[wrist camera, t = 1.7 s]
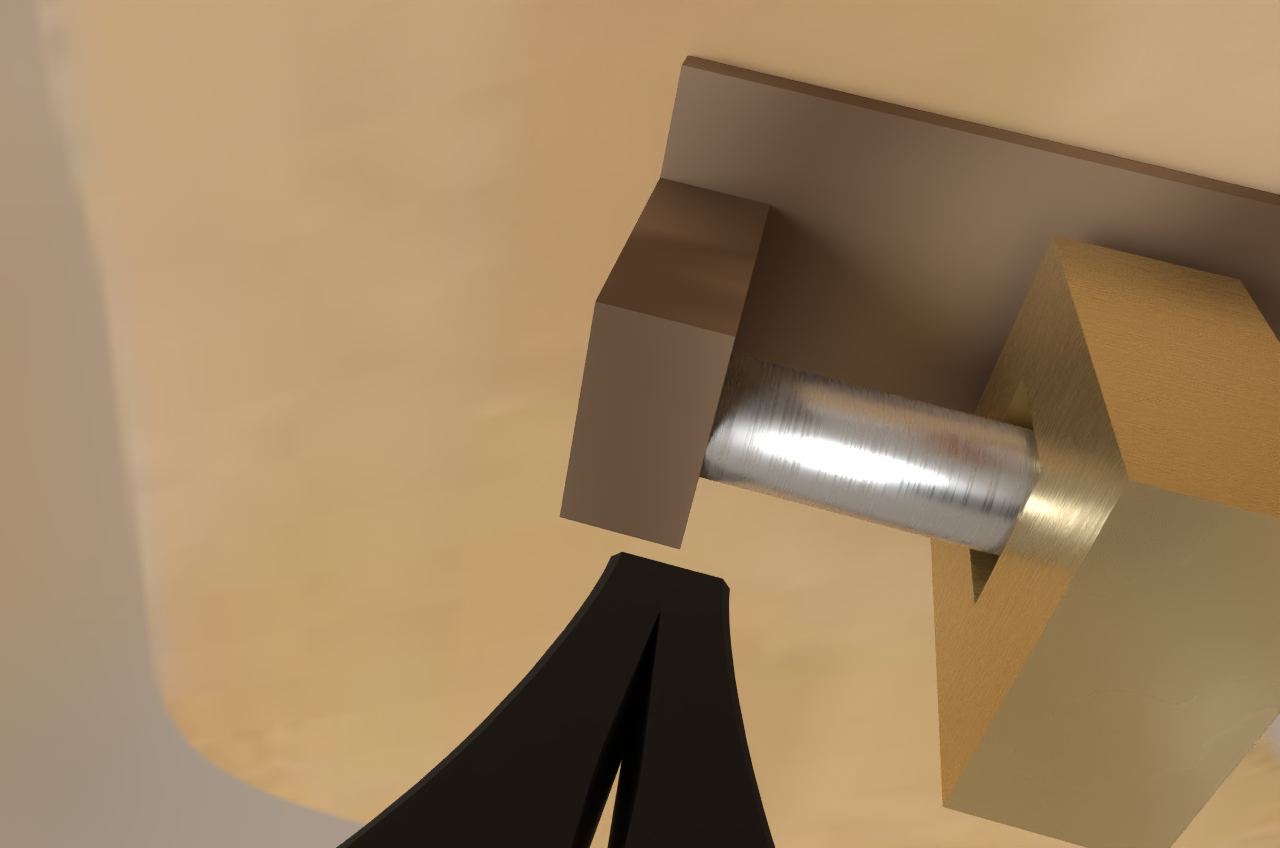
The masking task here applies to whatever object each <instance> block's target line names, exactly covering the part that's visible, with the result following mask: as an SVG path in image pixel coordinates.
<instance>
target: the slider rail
mask: <svg viewBox="0 0 1280 848" xmlns="http://www.w3.org/2000/svg"><path fill="white" fill-rule="evenodd" d="M1052 235H1056V236H1060V237H1065V238H1069V239H1073V240H1077V241H1081V242H1085V243H1089V244H1094V245H1098V246H1102V247H1106V248H1110V249H1114V250H1118V251H1122V252H1127V253H1131V254H1135V255H1139V256H1143V257H1147V258H1151V259H1156V260H1160V261H1164V262H1168V263H1172V264H1176V265H1180V266H1184V267H1189V268H1193V269H1197V270H1201V271H1205V272H1209V273H1213V274H1218V275H1222V276H1226V277H1230V278H1234V279H1238V280H1241V282H1242V283H1243V285H1244V287H1245V288H1246V290H1247V291H1248V293H1249V295H1250V296H1251V298H1252V299H1253V301H1254V303H1255V304H1256V306H1257V307H1258V309H1259V311H1260V312H1261V314H1262V315H1263V317H1264V319H1265V320H1266V322H1267V323H1268V325H1269V327H1270V328H1271V330H1272V331H1273V333H1274V334H1275V336H1276V338H1277V339H1278V341H1279V342H1280V195H1276V194H1272V193H1268V192H1264V191H1259V190H1255V189H1251V188H1247V187H1243V186H1238V185H1234V184H1230V183H1226V182H1221V181H1217V180H1213V179H1209V178H1204V177H1200V176H1196V175H1192V174H1187V173H1183V172H1179V171H1175V170H1170V169H1166V168H1162V167H1158V166H1153V165H1149V164H1145V163H1141V162H1136V161H1132V160H1128V159H1124V158H1120V157H1115V156H1111V155H1107V154H1103V153H1098V152H1094V151H1090V150H1086V149H1081V148H1077V147H1073V146H1069V145H1064V144H1060V143H1056V142H1052V141H1047V140H1043V139H1039V138H1035V137H1030V136H1026V135H1022V134H1018V133H1013V132H1009V131H1005V130H1001V129H997V128H992V127H988V126H984V125H980V124H975V123H971V122H967V121H963V120H958V119H954V118H950V117H946V116H941V115H937V114H933V113H929V112H924V111H920V110H916V109H912V108H907V107H903V106H899V105H895V104H891V103H886V102H882V101H878V100H874V99H869V98H865V97H861V96H857V95H852V94H848V93H844V92H840V91H835V90H831V89H827V88H823V87H818V86H814V85H810V84H806V83H801V82H797V81H793V80H789V79H784V78H780V77H776V76H772V75H768V74H763V73H759V72H755V71H751V70H746V69H742V68H738V67H734V66H729V65H725V64H721V63H717V62H712V61H708V60H704V59H700V58H695V57H691V56H687V58H686V59H685V61H684V62H683V64H682V67H681V72H680V78H679V83H678V88H677V93H676V98H675V104H674V109H673V114H672V119H671V124H670V130H669V135H668V140H667V145H666V150H665V156H664V161H663V166H662V171H661V176H660V179H659V181H658V183H657V185H656V187H655V189H654V191H653V193H652V194H651V196H650V198H649V200H648V202H647V204H646V206H645V208H644V210H643V212H642V214H641V215H640V217H639V219H638V221H637V223H636V225H635V227H634V229H633V231H632V233H631V235H630V237H629V238H628V240H627V242H626V244H625V246H624V248H623V250H622V252H621V254H620V256H619V258H618V260H617V261H616V263H615V265H614V267H613V269H612V271H611V273H610V275H609V277H608V279H607V281H606V283H605V284H604V286H603V288H602V290H601V292H600V294H599V296H598V298H597V300H596V302H595V308H594V314H593V320H592V326H591V332H590V338H589V344H588V350H587V356H586V362H585V368H584V374H583V380H582V386H581V392H580V398H579V404H578V410H577V416H576V422H575V428H574V435H573V441H572V447H571V453H570V459H569V465H568V471H567V477H566V483H565V489H564V495H563V501H562V507H561V513H560V517H562V518H565V519H569V520H573V521H576V522H580V523H584V524H588V525H591V526H595V527H599V528H603V529H606V530H610V531H614V532H617V533H621V534H625V535H629V536H632V537H636V538H640V539H643V540H647V541H651V542H655V543H658V544H662V545H666V546H669V547H673V548H677V549H680V547H681V544H682V540H683V536H684V532H685V528H686V524H687V521H688V517H689V513H690V509H691V505H692V501H693V498H694V494H695V490H696V486H697V482H698V479H699V475H700V471H701V467H702V463H703V459H704V455H705V452H706V448H707V444H708V440H709V436H710V432H711V429H712V425H713V421H714V417H715V413H716V409H717V406H718V402H719V398H720V394H721V390H722V387H723V383H724V379H725V375H726V371H727V367H728V364H729V360H730V356H731V353H734V354H738V355H742V356H746V357H749V358H753V359H757V360H761V361H765V362H769V363H773V364H777V365H781V366H785V367H789V368H793V369H797V370H800V371H804V372H808V373H812V374H816V375H820V376H824V377H828V378H832V379H836V380H840V381H844V382H848V383H851V384H855V385H859V386H863V387H867V388H871V389H875V390H879V391H883V392H887V393H891V394H895V395H898V396H902V397H906V398H910V399H914V400H918V401H922V402H926V403H930V404H934V405H938V406H942V407H946V408H949V409H953V410H957V411H961V412H965V413H969V414H973V415H974V413H975V411H976V408H977V406H978V404H979V401H980V399H981V397H982V395H983V392H984V390H985V388H986V386H987V383H988V381H989V379H990V376H991V374H992V372H993V370H994V367H995V365H996V363H997V360H998V358H999V356H1000V354H1001V351H1002V349H1003V347H1004V344H1005V342H1006V340H1007V338H1008V335H1009V333H1010V331H1011V328H1012V326H1013V324H1014V322H1015V319H1016V317H1017V315H1018V313H1019V310H1020V308H1021V306H1022V303H1023V301H1024V299H1025V297H1026V294H1027V292H1028V290H1029V287H1030V285H1031V283H1032V281H1033V278H1034V276H1035V274H1036V271H1037V269H1038V267H1039V265H1040V262H1041V260H1042V258H1043V256H1044V253H1045V251H1046V249H1047V246H1048V244H1049V242H1050V240H1051V237H1052Z"/></svg>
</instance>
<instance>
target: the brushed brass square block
mask: <svg viewBox="0 0 1280 848" xmlns="http://www.w3.org/2000/svg"><path fill="white" fill-rule="evenodd" d="M974 415H977V416H981V417H985V418H989V419H993V420H997V421H1000V422H1004V423H1008V424H1012V425H1016V426H1020V427H1024V428H1028V429H1032V430H1034V434H1035V439H1036V444H1037V449H1038V454H1039V459H1040V464H1041V469H1042V474H1041V476H1040V478H1039V480H1038V482H1037V484H1036V486H1035V488H1034V490H1033V492H1032V493H1031V495H1030V497H1029V499H1028V501H1027V503H1026V505H1025V507H1024V509H1023V511H1022V513H1021V515H1020V517H1019V519H1018V521H1017V523H1016V525H1015V527H1014V529H1013V531H1012V533H1011V535H1010V537H1009V539H1008V541H1007V543H1006V545H1005V547H1004V549H1003V551H1002V553H1001V555H1000V556H997V555H994V554H990V553H986V552H982V551H978V550H975V549H971V548H967V547H963V546H959V545H956V544H952V543H948V542H944V541H941V540H937V539H933V538H931V554H932V577H933V599H934V622H935V644H936V667H937V689H938V712H939V734H940V757H941V779H942V802H943V807H945V808H949V809H952V810H956V811H959V812H963V813H967V814H970V815H974V816H977V817H981V818H984V819H988V820H991V821H995V822H998V823H1002V824H1006V825H1009V826H1013V827H1016V828H1020V829H1023V830H1027V831H1030V832H1034V833H1038V834H1041V835H1045V836H1048V837H1052V838H1055V839H1059V840H1062V841H1066V842H1070V843H1073V844H1077V845H1080V846H1084V847H1087V848H1170V847H1171V846H1172V845H1173V844H1174V842H1175V841H1176V840H1177V839H1178V837H1179V836H1180V835H1181V834H1182V833H1183V831H1184V830H1185V829H1186V828H1187V826H1188V825H1189V824H1190V823H1191V822H1192V820H1193V819H1194V818H1195V817H1196V815H1197V814H1198V813H1199V812H1200V811H1201V809H1202V808H1203V807H1204V806H1205V804H1206V803H1207V802H1208V801H1209V799H1210V798H1211V797H1212V796H1213V795H1214V793H1215V792H1216V791H1217V790H1218V788H1219V787H1220V786H1221V785H1222V784H1223V782H1224V781H1225V780H1226V779H1227V777H1228V776H1229V775H1230V774H1231V772H1232V771H1233V770H1234V769H1235V768H1236V766H1237V765H1238V764H1239V763H1240V761H1241V760H1242V759H1243V758H1244V757H1245V755H1246V754H1247V753H1248V752H1249V750H1250V749H1251V748H1252V747H1253V745H1254V744H1255V743H1256V742H1257V741H1258V739H1259V738H1260V737H1261V736H1262V734H1263V733H1264V732H1265V731H1266V730H1267V728H1268V727H1269V726H1270V725H1271V723H1272V722H1273V721H1274V720H1275V719H1276V717H1277V716H1278V715H1279V714H1280V342H1279V341H1278V339H1277V338H1276V336H1275V334H1274V333H1273V331H1272V330H1271V328H1270V327H1269V325H1268V323H1267V322H1266V320H1265V319H1264V317H1263V315H1262V314H1261V312H1260V311H1259V309H1258V307H1257V306H1256V304H1255V303H1254V301H1253V299H1252V298H1251V296H1250V295H1249V293H1248V291H1247V290H1246V288H1245V287H1244V285H1243V283H1242V282H1241V280H1238V279H1234V278H1230V277H1226V276H1222V275H1218V274H1213V273H1209V272H1205V271H1201V270H1197V269H1193V268H1189V267H1184V266H1180V265H1176V264H1172V263H1168V262H1164V261H1160V260H1156V259H1151V258H1147V257H1143V256H1139V255H1135V254H1131V253H1127V252H1122V251H1118V250H1114V249H1110V248H1106V247H1102V246H1098V245H1094V244H1089V243H1085V242H1081V241H1077V240H1073V239H1069V238H1065V237H1060V236H1056V235H1052V237H1051V240H1050V242H1049V244H1048V246H1047V249H1046V251H1045V253H1044V256H1043V258H1042V260H1041V262H1040V265H1039V267H1038V269H1037V271H1036V274H1035V276H1034V278H1033V281H1032V283H1031V285H1030V287H1029V290H1028V292H1027V294H1026V297H1025V299H1024V301H1023V303H1022V306H1021V308H1020V310H1019V313H1018V315H1017V317H1016V319H1015V322H1014V324H1013V326H1012V328H1011V331H1010V333H1009V335H1008V338H1007V340H1006V342H1005V344H1004V347H1003V349H1002V351H1001V354H1000V356H999V358H998V360H997V363H996V365H995V367H994V370H993V372H992V374H991V376H990V379H989V381H988V383H987V386H986V388H985V390H984V392H983V395H982V397H981V399H980V401H979V404H978V406H977V408H976V411H975V413H974Z"/></svg>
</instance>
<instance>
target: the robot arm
mask: <svg viewBox="0 0 1280 848" xmlns="http://www.w3.org/2000/svg"><path fill="white" fill-rule="evenodd" d="M729 592H730V588H729V587H728V585H727V584H726V583H725V581H724V580H723V579H721V578H718V577H714V576H710V575H707V574H703V573H699V572H695V571H692V570H688V569H684V568H680V567H677V566H673V565H669V564H666V563H662V562H658V561H654V560H651V559H647V558H643V557H640V556H636V555H632V554H628V553H625V552H621V553H619V554H616V555H614V556H611V558H610V560H609V562H608V564H607V566H606V568H605V570H604V572H603V574H602V576H601V577H600V579H599V581H598V582H597V584H596V585H595V587H594V589H593V590H592V592H591V593H590V595H589V596H588V598H587V599H586V601H585V602H584V603H583V605H582V606H581V608H580V609H579V610H578V612H577V613H576V614H575V616H574V617H573V619H572V620H571V621H570V623H569V624H568V625H567V627H566V628H565V629H564V631H563V632H562V633H561V634H560V635H559V637H558V638H557V639H556V640H555V642H554V643H553V644H552V645H551V646H550V648H549V649H548V650H547V651H546V652H545V654H544V655H543V656H542V657H541V659H540V660H539V661H538V662H537V663H536V665H535V666H534V667H533V668H532V669H531V671H530V672H529V673H528V674H527V675H526V676H525V677H524V679H523V680H522V681H521V682H520V683H519V684H518V685H517V686H516V687H515V688H514V689H513V690H512V691H511V692H510V693H509V695H508V696H507V697H506V698H505V699H504V700H503V701H502V702H501V703H500V704H499V705H498V706H497V707H496V708H495V709H494V710H493V712H492V713H491V714H490V715H489V716H488V717H487V718H486V719H485V720H484V721H483V722H482V723H481V724H480V725H479V726H478V727H477V728H476V729H475V730H474V731H473V732H472V733H471V734H470V735H469V736H468V737H467V738H466V739H465V740H464V741H463V742H462V743H461V744H460V745H459V746H457V747H456V748H455V749H454V750H453V751H452V752H451V753H450V754H449V755H448V756H447V757H446V758H445V759H443V760H442V761H441V762H440V763H439V764H438V765H437V766H436V767H435V768H433V769H432V770H431V771H430V772H429V773H428V774H427V775H426V776H425V777H423V778H422V779H421V780H420V781H419V782H418V783H417V784H415V785H414V786H413V787H412V788H411V789H409V790H408V791H407V792H406V793H405V794H403V795H402V796H401V797H400V798H399V799H397V800H396V801H395V802H394V803H392V804H391V805H390V806H389V807H388V808H386V809H385V810H384V811H383V812H382V813H380V814H379V815H378V816H377V817H376V818H374V819H373V820H372V821H371V822H369V823H368V824H367V825H365V826H364V827H363V828H362V829H360V830H359V831H358V832H357V833H355V834H354V835H353V836H351V837H350V838H349V839H347V840H346V841H345V842H344V843H342V844H341V845H339V846H338V847H337V848H590V845H591V842H592V840H593V837H594V834H595V832H596V829H597V826H598V823H599V821H600V818H601V815H602V812H603V810H604V807H605V804H606V802H607V799H608V796H609V793H610V791H611V788H612V785H613V782H614V780H615V777H616V774H617V771H618V769H619V766H620V763H621V768H620V774H619V780H618V786H617V793H616V799H615V805H614V811H613V817H612V823H611V830H610V836H609V842H608V848H775V846H774V842H773V839H772V836H771V833H770V829H769V826H768V822H767V819H766V816H765V812H764V809H763V805H762V801H761V797H760V793H759V790H758V786H757V782H756V778H755V774H754V770H753V766H752V762H751V757H750V753H749V749H748V745H747V740H746V734H745V729H744V724H743V719H742V714H741V709H740V704H739V699H738V693H737V686H736V680H735V674H734V665H733V657H732V649H731V638H730V624H729ZM621 760H622V762H621Z"/></svg>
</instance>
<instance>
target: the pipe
mask: <svg viewBox="0 0 1280 848" xmlns="http://www.w3.org/2000/svg"><path fill="white" fill-rule="evenodd" d="M1041 474H1042V469H1041V464H1040V459H1039V454H1038V449H1037V444H1036V439H1035V434H1034V430H1032V429H1028V428H1024V427H1020V426H1016V425H1012V424H1008V423H1004V422H1000V421H997V420H993V419H989V418H985V417H981V416H977V415H973V414H969V413H965V412H961V411H957V410H953V409H949V408H946V407H942V406H938V405H934V404H930V403H926V402H922V401H918V400H914V399H910V398H906V397H902V396H898V395H895V394H891V393H887V392H883V391H879V390H875V389H871V388H867V387H863V386H859V385H855V384H851V383H848V382H844V381H840V380H836V379H832V378H828V377H824V376H820V375H816V374H812V373H808V372H804V371H800V370H797V369H793V368H789V367H785V366H781V365H777V364H773V363H769V362H765V361H761V360H757V359H753V358H749V357H746V356H742V355H738V354H734V353H731V356H730V360H729V364H728V367H727V371H726V375H725V379H724V383H723V387H722V390H721V394H720V398H719V402H718V406H717V409H716V413H715V417H714V421H713V425H712V429H711V432H710V436H709V440H708V444H707V448H706V452H705V455H704V459H703V463H702V467H701V471H700V475H699V477H702V478H706V479H709V480H713V481H717V482H721V483H724V484H728V485H732V486H736V487H740V488H743V489H747V490H751V491H755V492H759V493H762V494H766V495H770V496H774V497H778V498H781V499H785V500H789V501H793V502H796V503H800V504H804V505H808V506H812V507H815V508H819V509H823V510H827V511H831V512H834V513H838V514H842V515H846V516H850V517H853V518H857V519H861V520H865V521H868V522H872V523H876V524H880V525H884V526H887V527H891V528H895V529H899V530H903V531H906V532H910V533H914V534H918V535H922V536H925V537H929V538H933V539H937V540H941V541H944V542H948V543H952V544H956V545H959V546H963V547H967V548H971V549H975V550H978V551H982V552H986V553H990V554H994V555H997V556H1000V555H1001V553H1002V551H1003V549H1004V547H1005V545H1006V543H1007V541H1008V539H1009V537H1010V535H1011V533H1012V531H1013V529H1014V527H1015V525H1016V523H1017V521H1018V519H1019V517H1020V515H1021V513H1022V511H1023V509H1024V507H1025V505H1026V503H1027V501H1028V499H1029V497H1030V495H1031V493H1032V492H1033V490H1034V488H1035V486H1036V484H1037V482H1038V480H1039V478H1040V476H1041Z"/></svg>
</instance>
